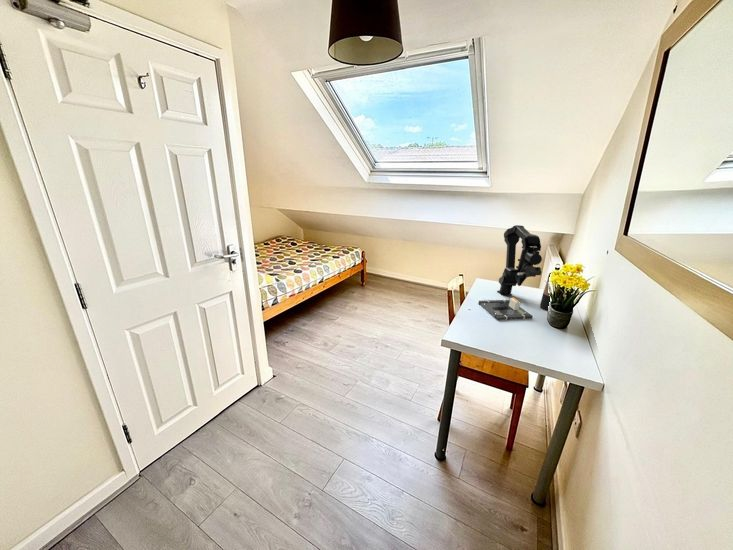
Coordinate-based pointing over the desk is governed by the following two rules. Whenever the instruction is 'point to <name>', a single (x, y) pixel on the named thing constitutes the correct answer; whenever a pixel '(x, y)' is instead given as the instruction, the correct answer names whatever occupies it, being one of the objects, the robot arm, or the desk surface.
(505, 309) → the breaker panel
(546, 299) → the travel mug
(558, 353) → the desk surface
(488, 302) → the cord bundle inner
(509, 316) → the cord bundle outer
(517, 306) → the lever
